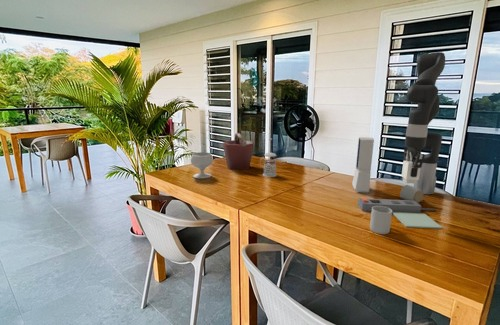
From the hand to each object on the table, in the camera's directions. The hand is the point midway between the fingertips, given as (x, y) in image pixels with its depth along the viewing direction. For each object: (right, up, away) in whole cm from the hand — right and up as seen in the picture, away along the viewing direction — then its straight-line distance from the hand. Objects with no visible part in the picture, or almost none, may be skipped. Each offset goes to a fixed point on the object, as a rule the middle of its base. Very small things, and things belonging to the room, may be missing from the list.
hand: (410, 174), depth 121 cm
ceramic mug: (+15, -15, +25) cm, 32 cm away
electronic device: (-5, -10, +41) cm, 43 cm away
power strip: (+1, -17, +13) cm, 22 cm away
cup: (-16, -22, -7) cm, 28 cm away
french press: (-56, -3, +70) cm, 90 cm away
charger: (0, -3, +1) cm, 3 cm away
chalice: (-100, -4, +65) cm, 119 cm away
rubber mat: (+3, -20, +1) cm, 20 cm away
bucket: (-77, +2, +90) cm, 119 cm away
